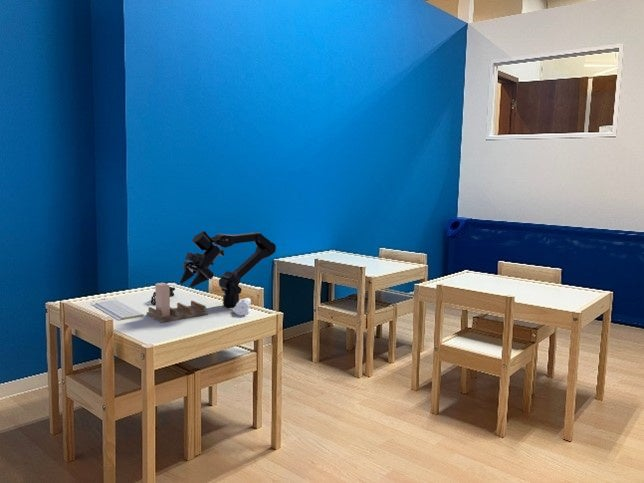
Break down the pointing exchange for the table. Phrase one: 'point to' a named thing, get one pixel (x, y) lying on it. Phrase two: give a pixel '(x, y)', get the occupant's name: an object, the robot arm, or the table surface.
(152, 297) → the decorative element
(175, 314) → the drying rack
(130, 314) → the baseboard molding
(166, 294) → the pinkish tan block
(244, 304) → the baby figurine
